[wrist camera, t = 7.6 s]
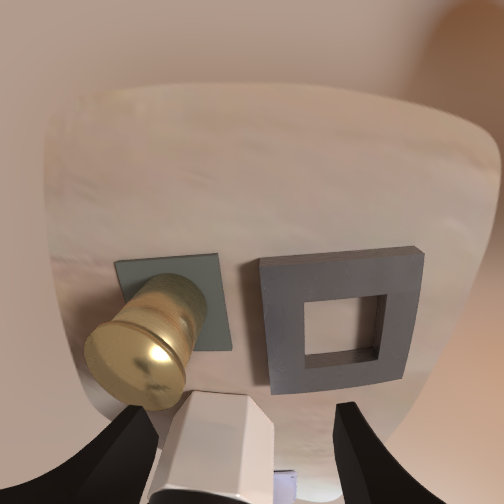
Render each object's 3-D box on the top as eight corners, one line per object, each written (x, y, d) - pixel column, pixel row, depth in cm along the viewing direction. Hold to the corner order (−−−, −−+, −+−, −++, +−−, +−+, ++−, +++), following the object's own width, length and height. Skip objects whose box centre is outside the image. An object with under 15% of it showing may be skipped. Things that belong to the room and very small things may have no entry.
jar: (157, 399, 23) (112, 512, 11) (236, 375, 21) (213, 520, 10) (213, 451, 25) (195, 550, 14) (286, 434, 23) (287, 549, 12)
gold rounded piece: (219, 336, 19) (195, 413, 13) (150, 339, 20) (109, 405, 13) (202, 263, 18) (162, 325, 11) (128, 272, 18) (68, 327, 12)
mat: (232, 347, 20) (231, 350, 20) (142, 346, 21) (140, 349, 20) (217, 253, 18) (216, 255, 17) (117, 260, 18) (115, 262, 18)
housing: (396, 366, 20) (401, 378, 19) (271, 381, 21) (271, 395, 20) (414, 245, 17) (424, 253, 16) (260, 258, 18) (259, 267, 16)
